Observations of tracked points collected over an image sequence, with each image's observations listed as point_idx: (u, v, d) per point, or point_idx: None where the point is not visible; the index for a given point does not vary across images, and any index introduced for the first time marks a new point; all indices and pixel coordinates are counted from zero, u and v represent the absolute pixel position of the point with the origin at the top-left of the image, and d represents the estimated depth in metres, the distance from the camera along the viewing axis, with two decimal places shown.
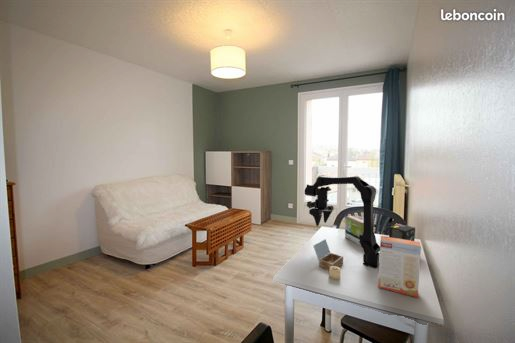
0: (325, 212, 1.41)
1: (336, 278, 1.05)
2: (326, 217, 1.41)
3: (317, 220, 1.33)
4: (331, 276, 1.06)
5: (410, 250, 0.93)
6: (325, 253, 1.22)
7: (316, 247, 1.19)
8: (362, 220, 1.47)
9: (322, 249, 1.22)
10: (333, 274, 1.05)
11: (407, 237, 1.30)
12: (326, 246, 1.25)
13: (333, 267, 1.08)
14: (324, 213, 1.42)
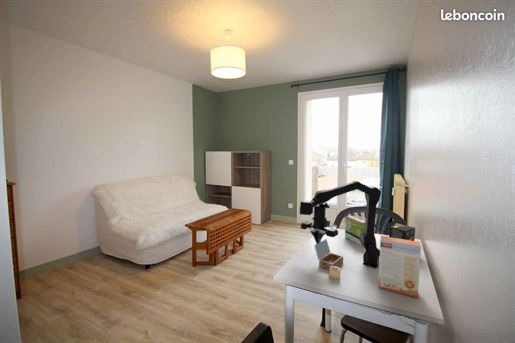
0: None
1: (336, 278, 1.05)
2: None
3: None
4: (331, 276, 1.06)
5: (410, 250, 0.92)
6: (325, 253, 1.22)
7: (317, 247, 1.18)
8: (362, 220, 1.47)
9: (322, 249, 1.21)
10: (333, 274, 1.05)
11: (407, 237, 1.30)
12: (327, 246, 1.25)
13: (333, 267, 1.08)
14: None
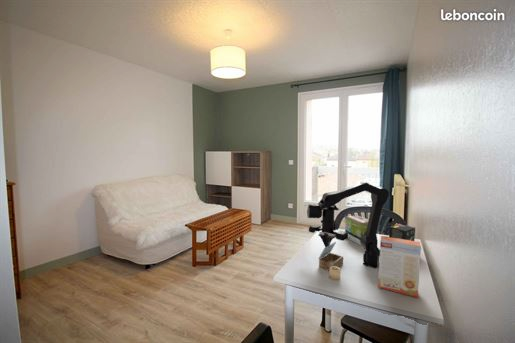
0: None
1: (336, 278, 1.05)
2: None
3: None
4: (331, 276, 1.06)
5: (410, 250, 0.93)
6: (326, 253, 1.22)
7: (325, 250, 1.15)
8: (362, 220, 1.47)
9: (327, 251, 1.20)
10: (333, 274, 1.05)
11: (407, 237, 1.30)
12: (331, 248, 1.23)
13: (333, 267, 1.08)
14: None
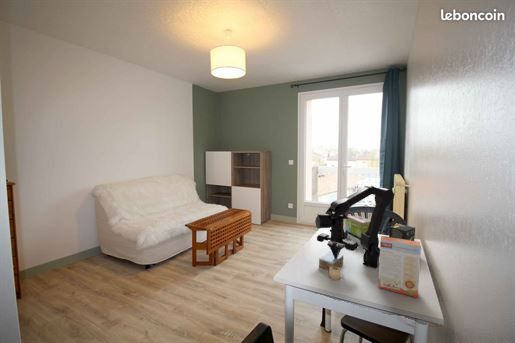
0: None
1: (336, 278, 1.05)
2: None
3: None
4: (331, 276, 1.06)
5: (410, 250, 0.93)
6: None
7: None
8: (362, 220, 1.47)
9: None
10: (333, 274, 1.05)
11: (407, 237, 1.30)
12: None
13: (333, 267, 1.08)
14: None
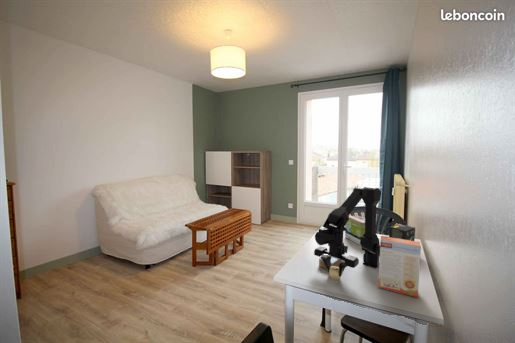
0: None
1: (336, 278, 1.05)
2: None
3: None
4: (331, 276, 1.06)
5: (410, 250, 0.93)
6: None
7: None
8: (362, 220, 1.47)
9: None
10: (333, 274, 1.05)
11: (407, 237, 1.30)
12: None
13: (333, 267, 1.08)
14: None
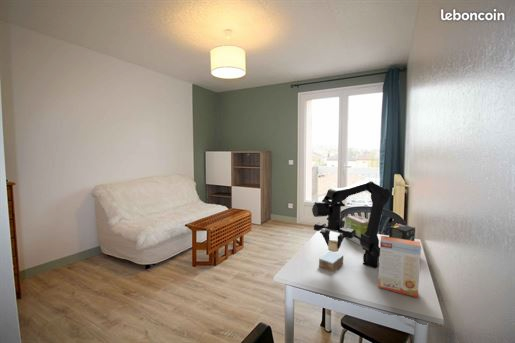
0: None
1: (335, 250, 1.12)
2: None
3: None
4: (330, 248, 1.13)
5: (410, 250, 0.93)
6: None
7: None
8: (362, 220, 1.47)
9: None
10: (332, 246, 1.12)
11: (407, 237, 1.30)
12: None
13: (332, 240, 1.15)
14: None
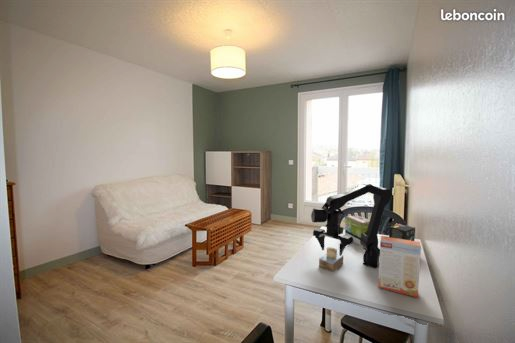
0: None
1: (333, 257, 1.16)
2: None
3: None
4: (328, 255, 1.17)
5: (410, 250, 0.93)
6: None
7: None
8: (362, 220, 1.47)
9: None
10: (330, 254, 1.16)
11: (407, 237, 1.30)
12: None
13: (330, 248, 1.19)
14: None
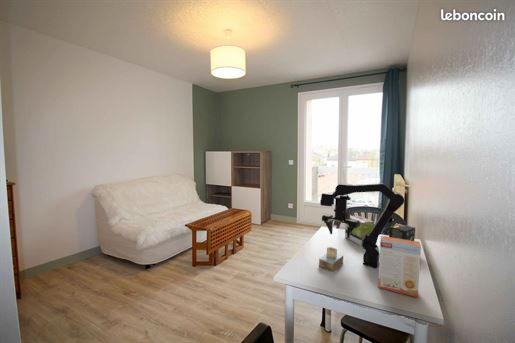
0: None
1: (333, 257, 1.16)
2: None
3: None
4: (328, 255, 1.17)
5: (410, 250, 0.93)
6: None
7: None
8: (362, 220, 1.47)
9: None
10: (330, 254, 1.16)
11: (407, 237, 1.30)
12: None
13: (330, 248, 1.19)
14: None
